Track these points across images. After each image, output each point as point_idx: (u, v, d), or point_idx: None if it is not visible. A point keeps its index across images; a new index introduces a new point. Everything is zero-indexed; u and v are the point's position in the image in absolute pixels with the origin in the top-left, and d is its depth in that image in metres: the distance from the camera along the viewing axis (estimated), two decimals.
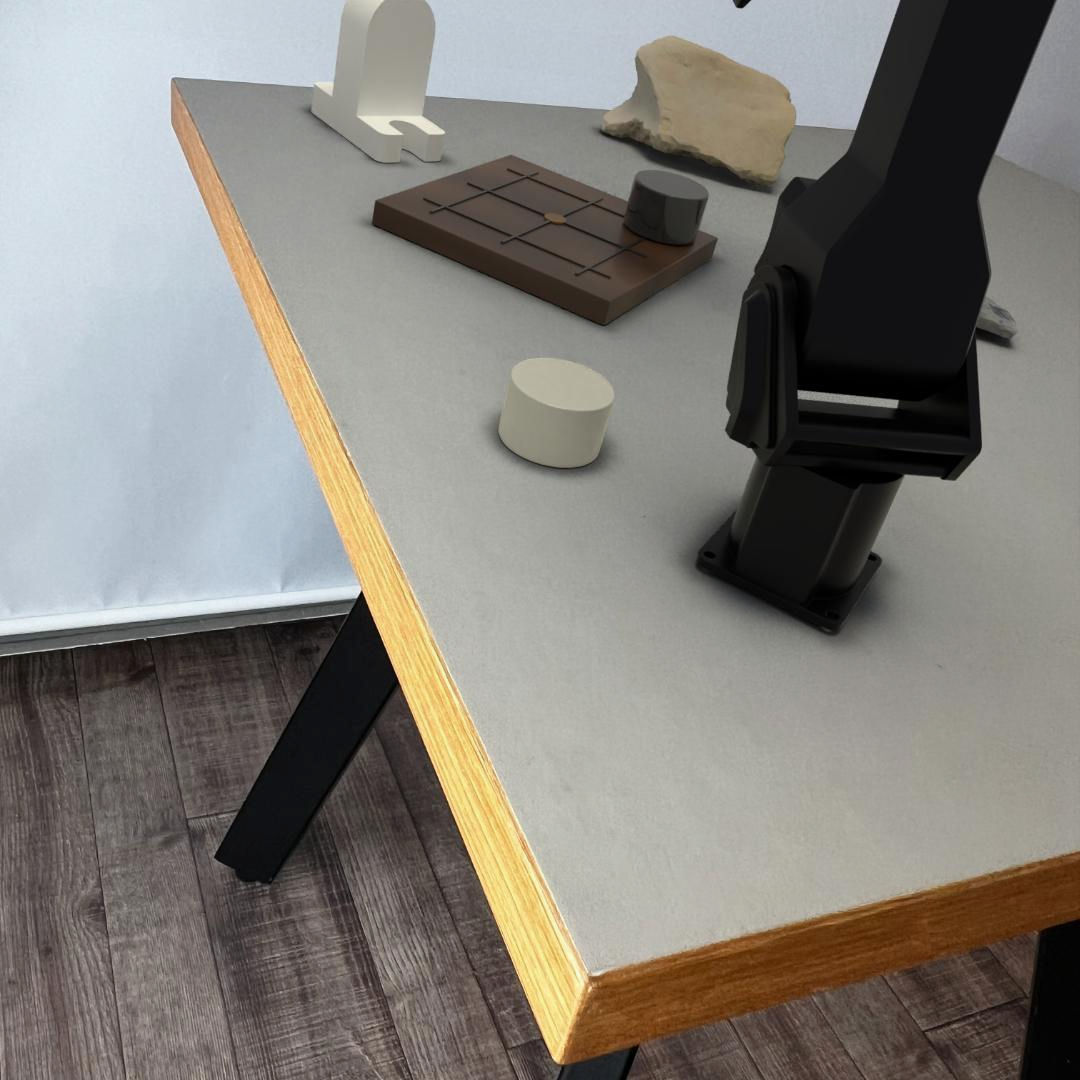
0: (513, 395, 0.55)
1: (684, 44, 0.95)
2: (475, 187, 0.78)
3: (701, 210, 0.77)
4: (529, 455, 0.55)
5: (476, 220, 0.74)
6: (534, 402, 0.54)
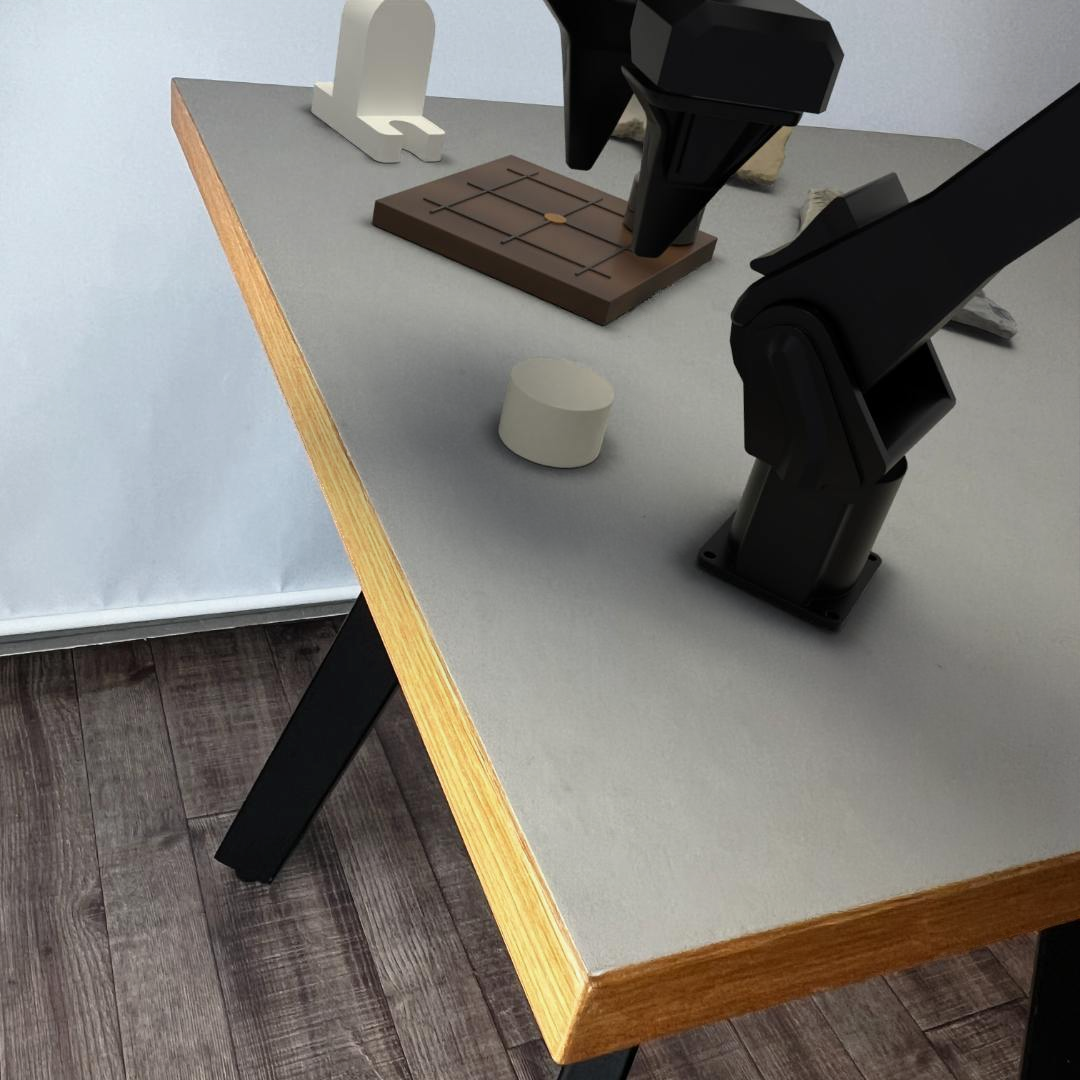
0: (513, 395, 0.55)
1: None
2: (475, 187, 0.78)
3: (701, 210, 0.77)
4: (529, 455, 0.55)
5: (476, 220, 0.74)
6: (534, 402, 0.54)
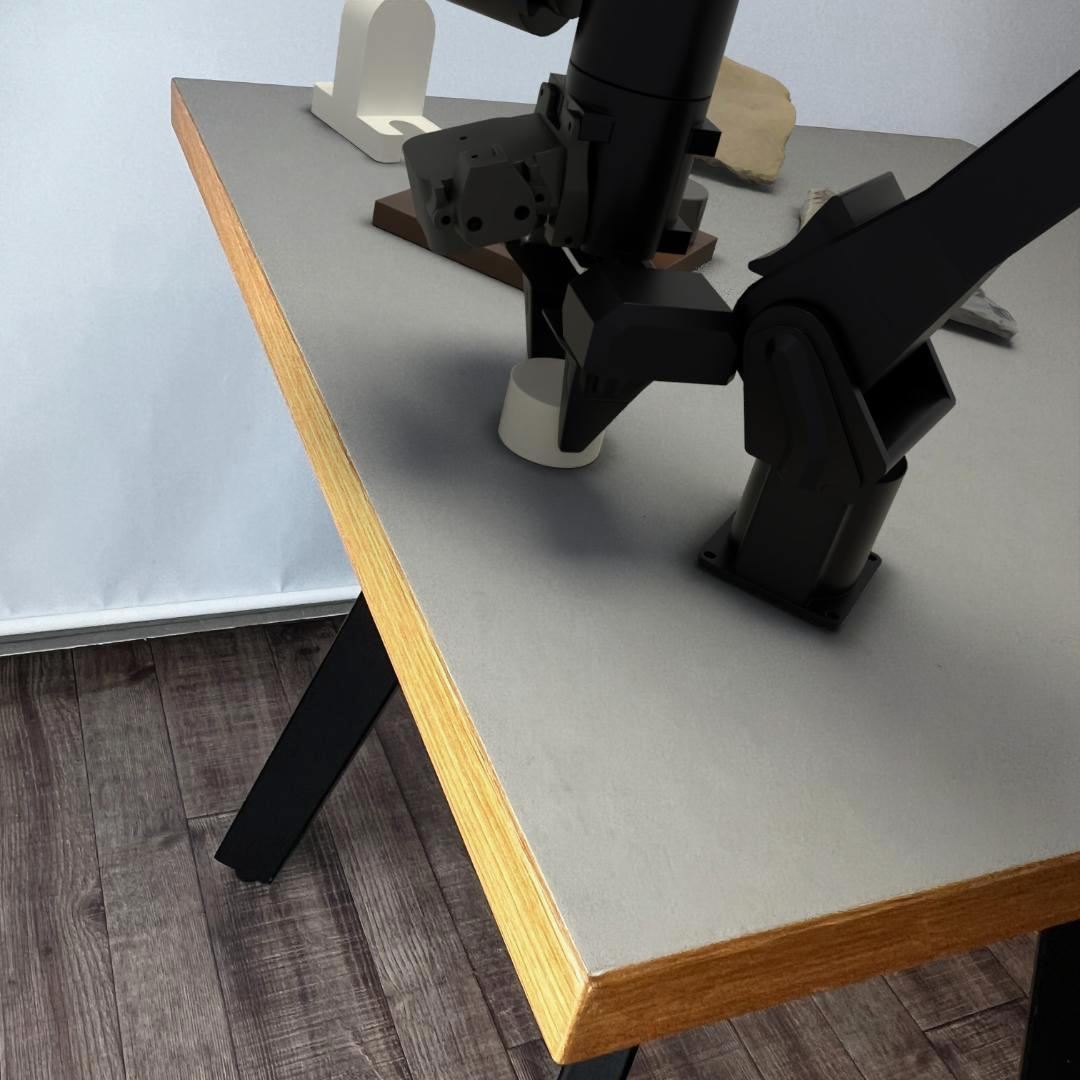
0: (513, 395, 0.55)
1: None
2: None
3: (701, 210, 0.77)
4: (529, 455, 0.55)
5: None
6: (534, 402, 0.54)
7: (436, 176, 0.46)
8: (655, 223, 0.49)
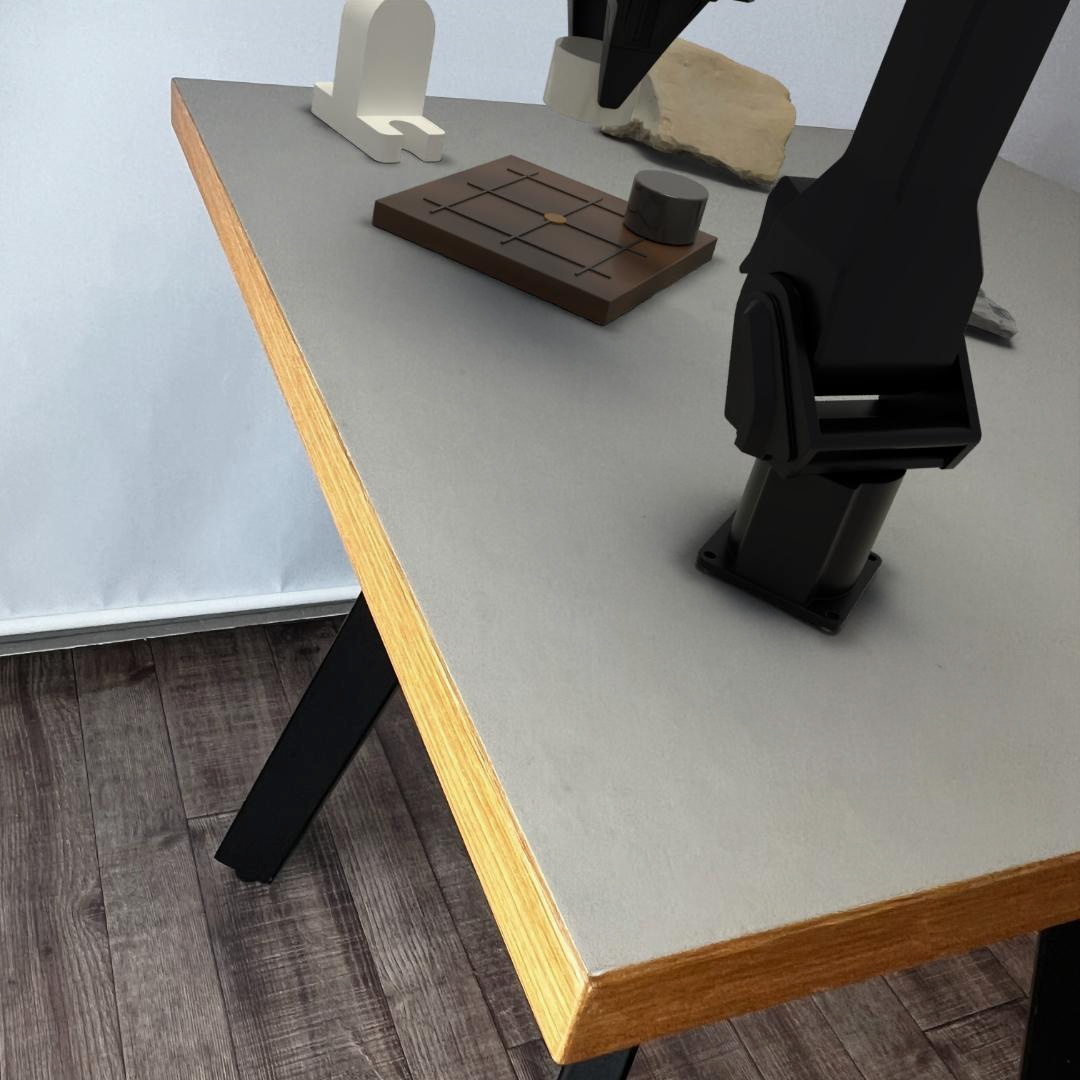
0: (558, 58, 0.63)
1: (684, 44, 0.95)
2: (475, 187, 0.78)
3: (701, 210, 0.77)
4: (571, 113, 0.63)
5: (476, 220, 0.74)
6: (577, 59, 0.62)
7: None
8: None
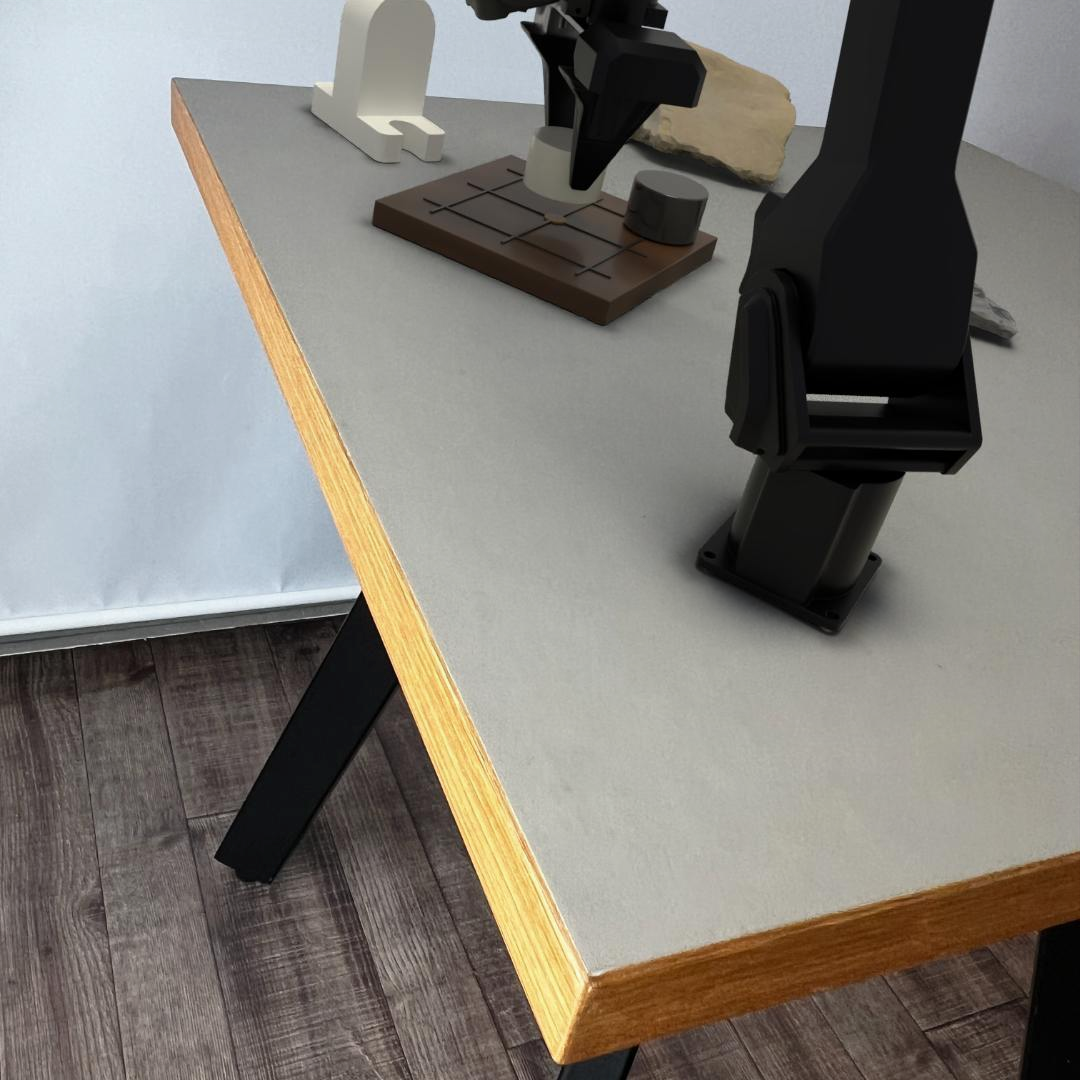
0: (535, 147, 0.73)
1: None
2: (475, 187, 0.78)
3: (701, 210, 0.77)
4: (546, 193, 0.74)
5: (476, 220, 0.74)
6: (551, 149, 0.72)
7: None
8: (641, 1, 0.67)
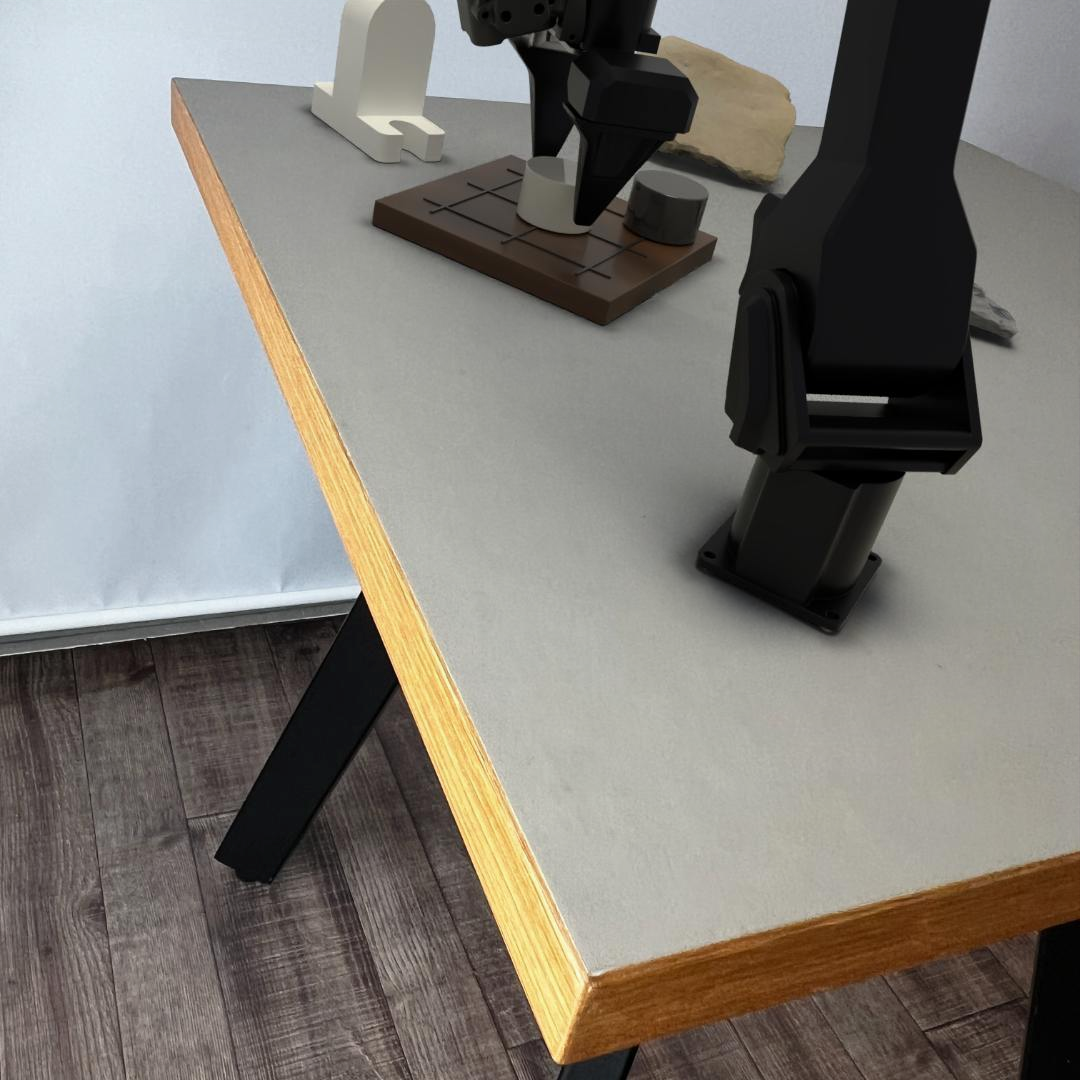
0: (528, 177, 0.74)
1: (684, 44, 0.95)
2: (475, 187, 0.78)
3: (701, 210, 0.77)
4: (540, 223, 0.75)
5: (476, 220, 0.74)
6: (544, 180, 0.73)
7: None
8: (634, 26, 0.68)
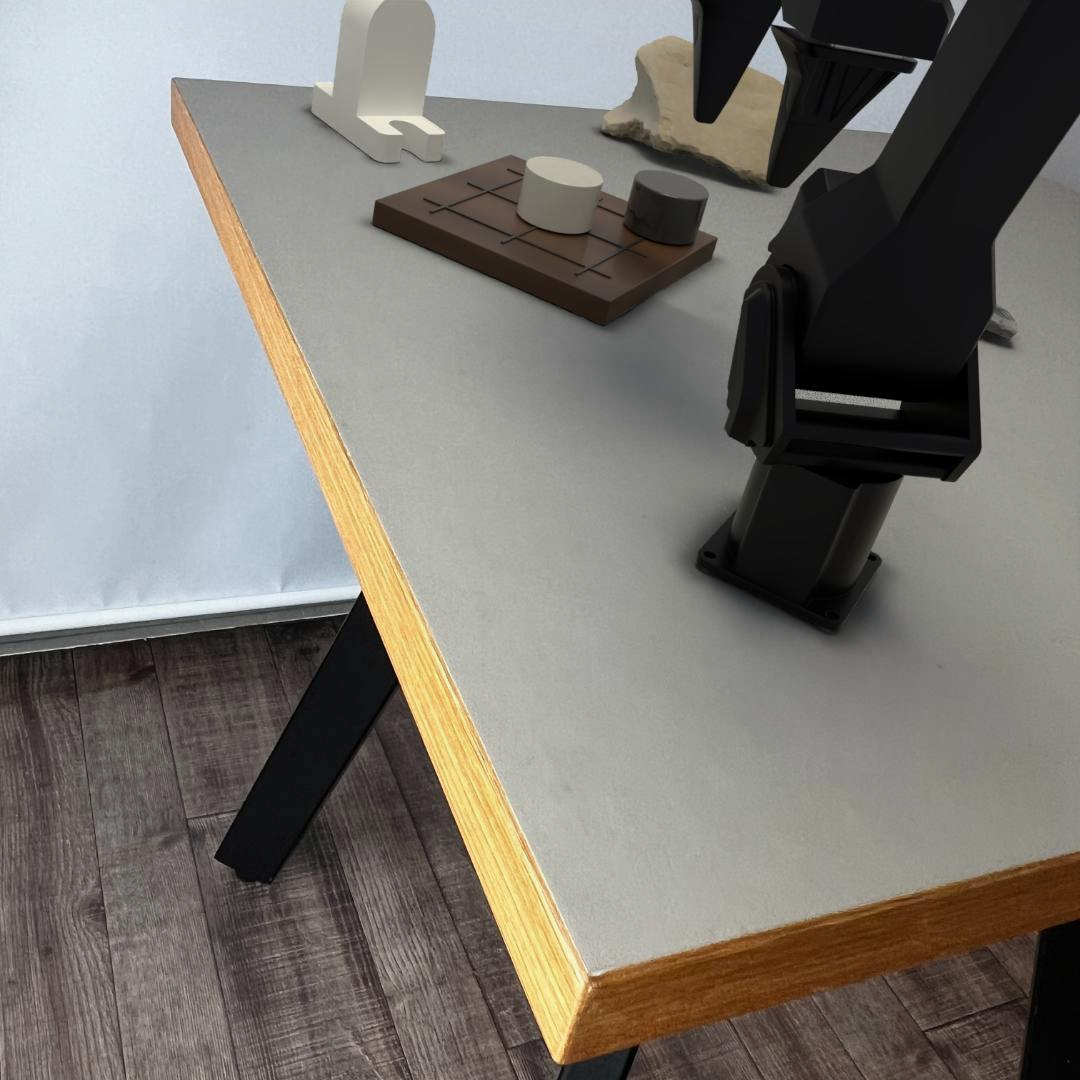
0: (528, 177, 0.74)
1: (684, 44, 0.95)
2: (475, 187, 0.78)
3: (701, 210, 0.77)
4: (540, 223, 0.75)
5: (476, 220, 0.74)
6: (544, 180, 0.73)
7: None
8: None
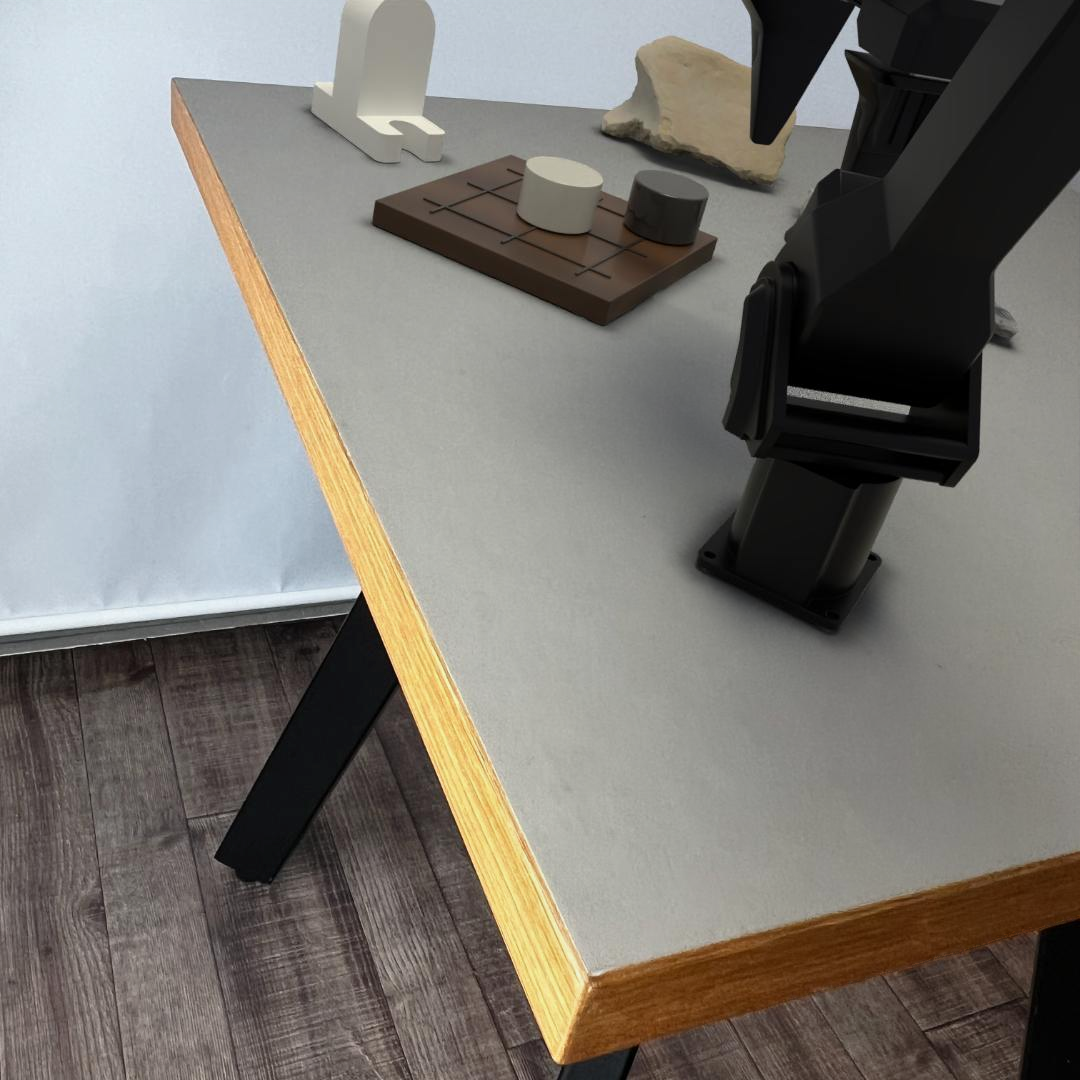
0: (528, 177, 0.74)
1: (684, 44, 0.95)
2: (475, 187, 0.78)
3: (701, 210, 0.77)
4: (540, 223, 0.75)
5: (476, 220, 0.74)
6: (544, 180, 0.73)
7: None
8: None
